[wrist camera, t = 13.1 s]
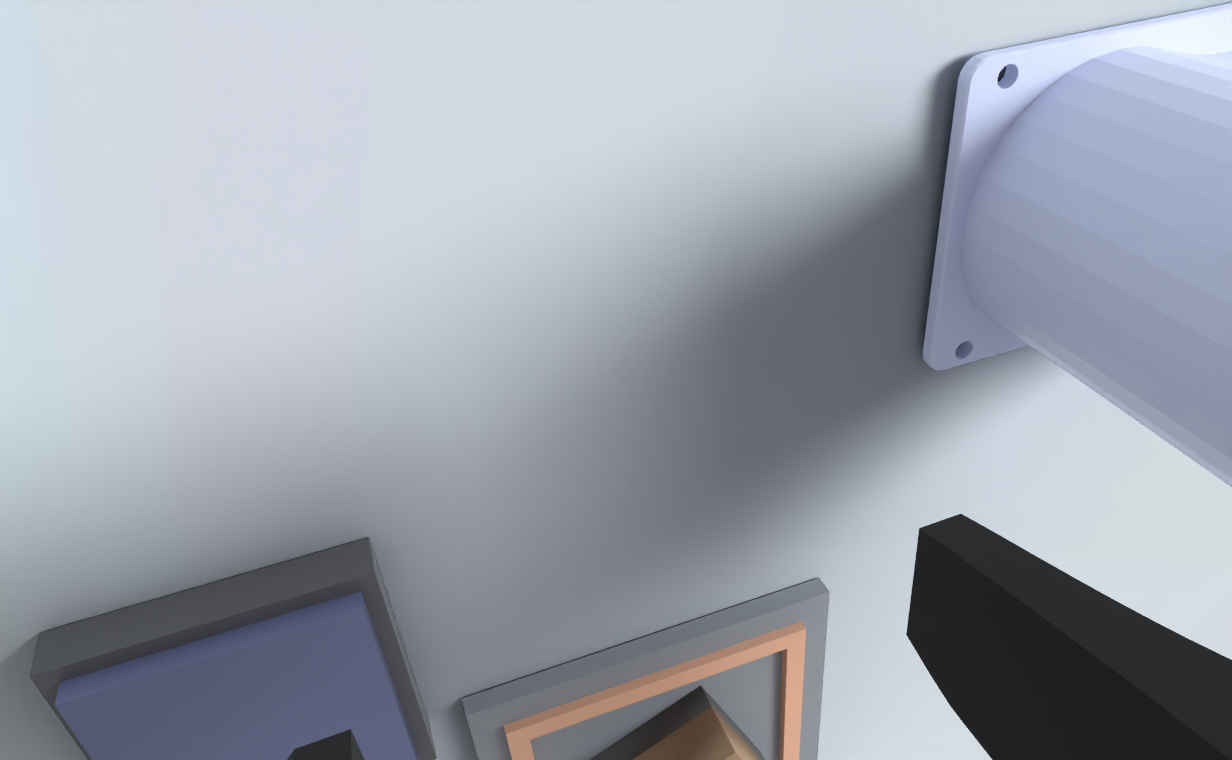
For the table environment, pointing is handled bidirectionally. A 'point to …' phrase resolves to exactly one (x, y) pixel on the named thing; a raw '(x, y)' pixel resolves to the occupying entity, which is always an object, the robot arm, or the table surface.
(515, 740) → the board
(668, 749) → the stamp
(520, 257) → the table surface
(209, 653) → the ink pad
